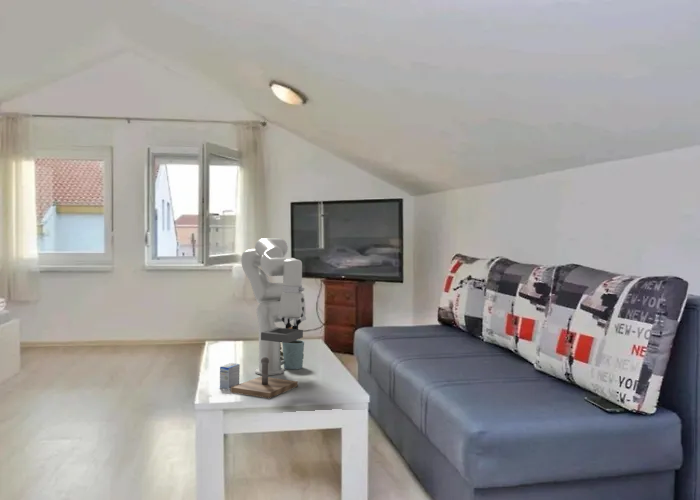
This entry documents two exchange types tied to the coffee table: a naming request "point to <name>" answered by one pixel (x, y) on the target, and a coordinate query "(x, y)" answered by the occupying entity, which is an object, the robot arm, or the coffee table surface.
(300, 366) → the teal cup
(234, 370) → the medicine box
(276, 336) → the grey square frame
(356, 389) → the coffee table surface
